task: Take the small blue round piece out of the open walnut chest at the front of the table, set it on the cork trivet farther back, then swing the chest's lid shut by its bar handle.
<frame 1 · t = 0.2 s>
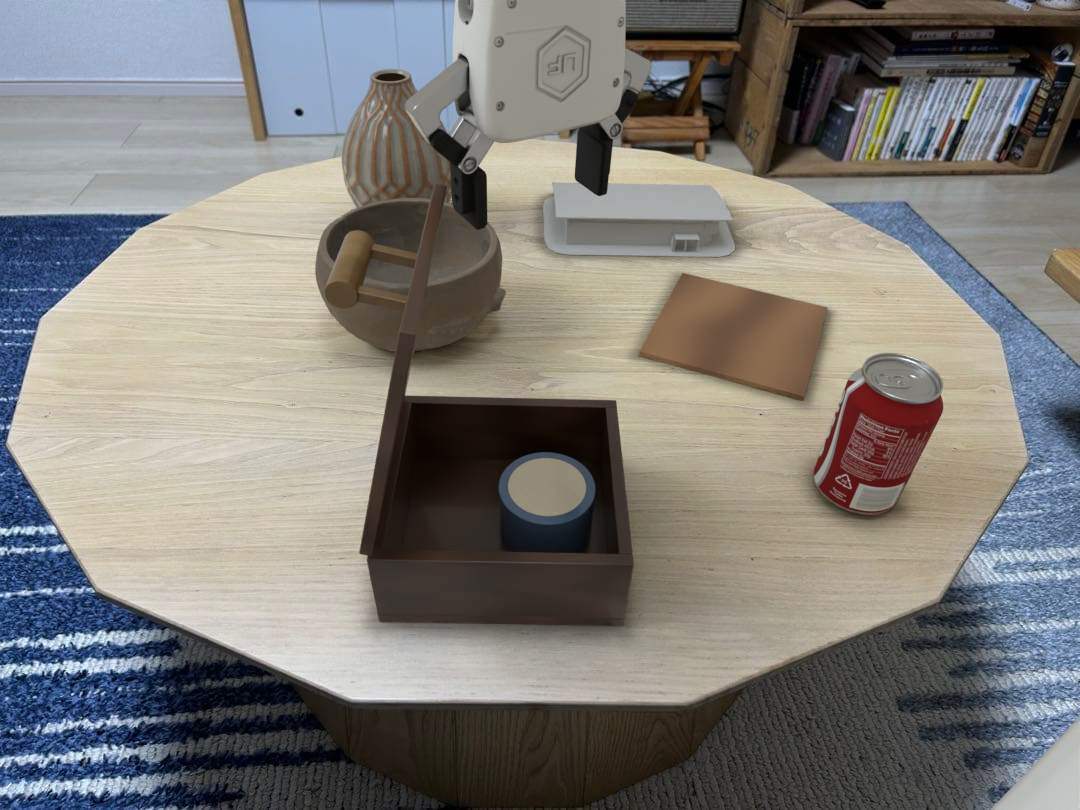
hand: (533, 203, 53), 21 cm above the table, tool pointing down, fingers open, 9 cm apart
bowl: (416, 324, 79), on the table
lid: (367, 361, 47), point 16 cm above the table, hinge at 76.5°, touching gripper
chest: (505, 533, 59), on the table
vase: (405, 223, 95), on the table
trivet: (736, 332, 79), on the table
grey flat boxy piece: (635, 225, 96), on the table
soda can: (852, 490, 63), on the table
blue round piece: (545, 526, 58), point 1 cm above the table, touching chest
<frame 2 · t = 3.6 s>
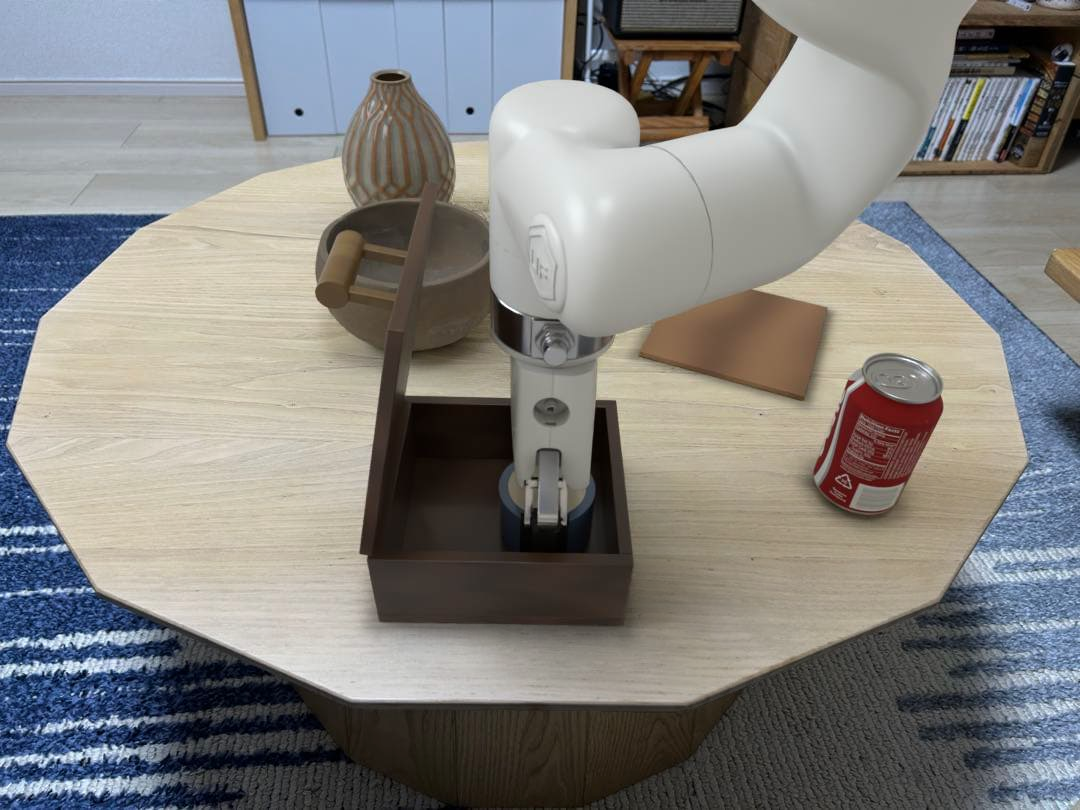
hand: (542, 498, 57), 4 cm above the table, tool pointing down, fingers open, 9 cm apart
lid: (363, 361, 47), point 16 cm above the table, hinge at 78.3°
everything else where it was.
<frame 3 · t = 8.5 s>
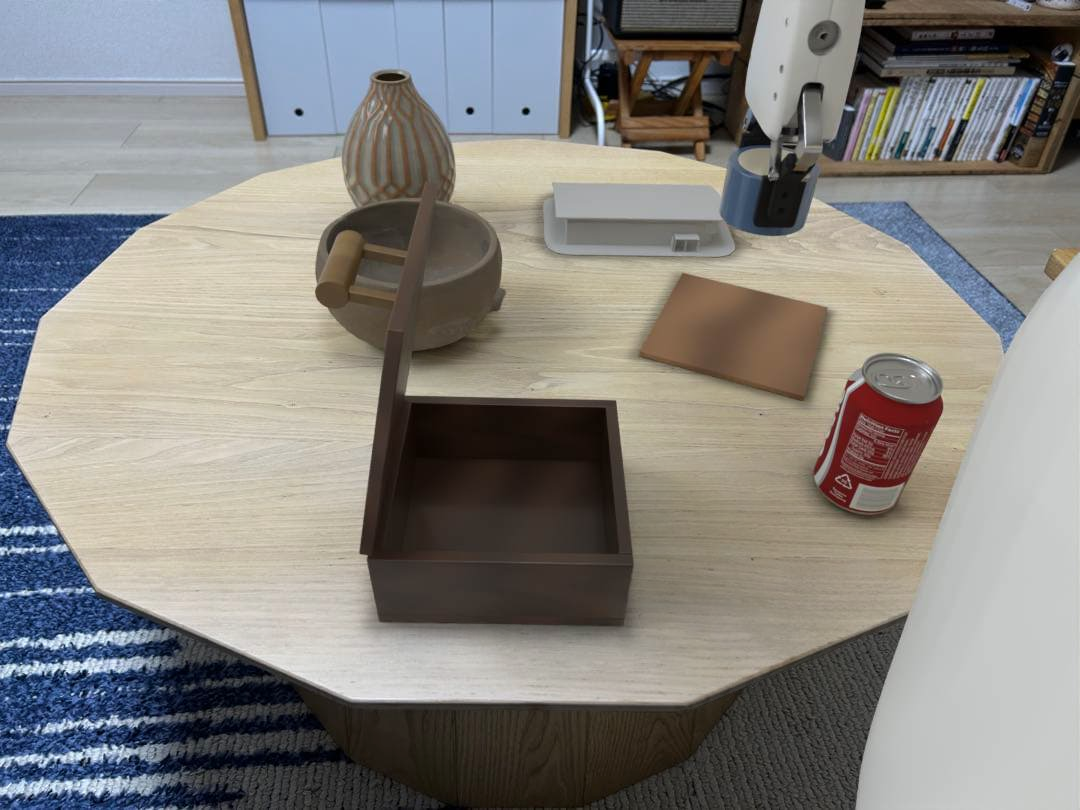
hand: (762, 200, 62), 18 cm above the table, tool pointing down, fingers closed on blue round piece, 7 cm apart
blue round piece: (761, 215, 63), point 17 cm above the table, touching gripper
everything else where it was.
when the fingers open (2 cm above the table, at t = 12.7 s): blue round piece stays where it is, resting on trivet.
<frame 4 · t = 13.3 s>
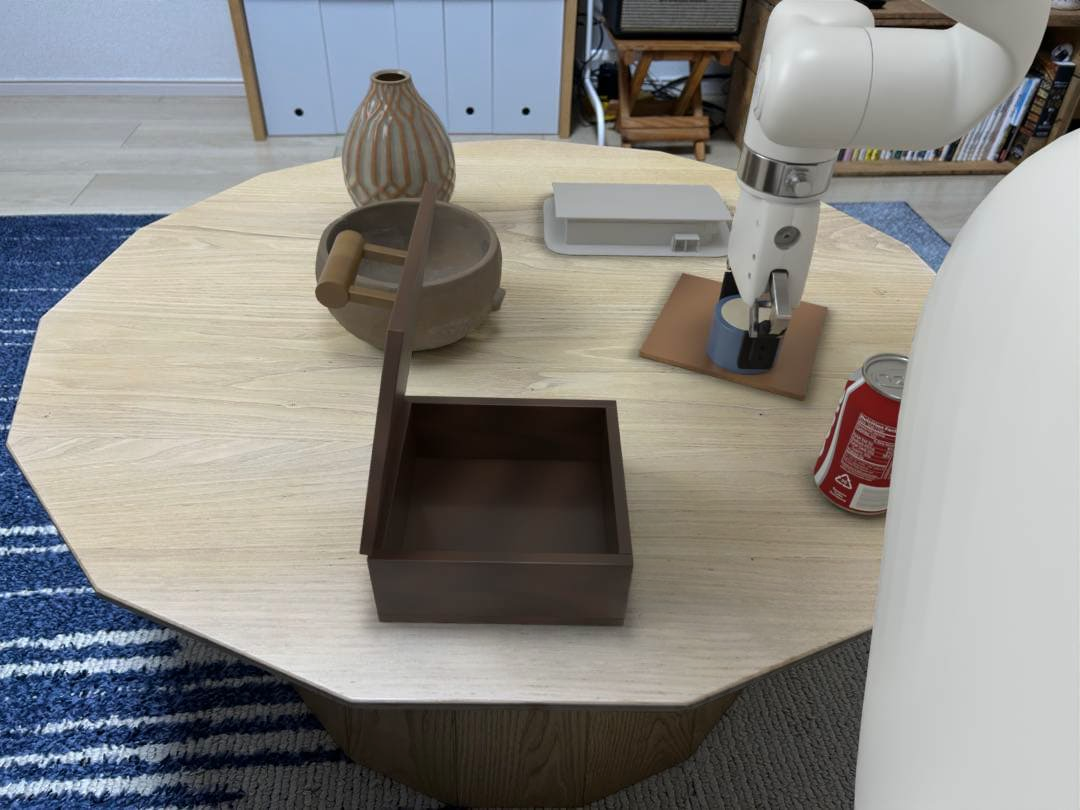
hand: (743, 335, 74), 3 cm above the table, tool pointing down, fingers open, 9 cm apart
blue round piece: (741, 352, 75), point 1 cm above the table, touching trivet
everything else where it was.
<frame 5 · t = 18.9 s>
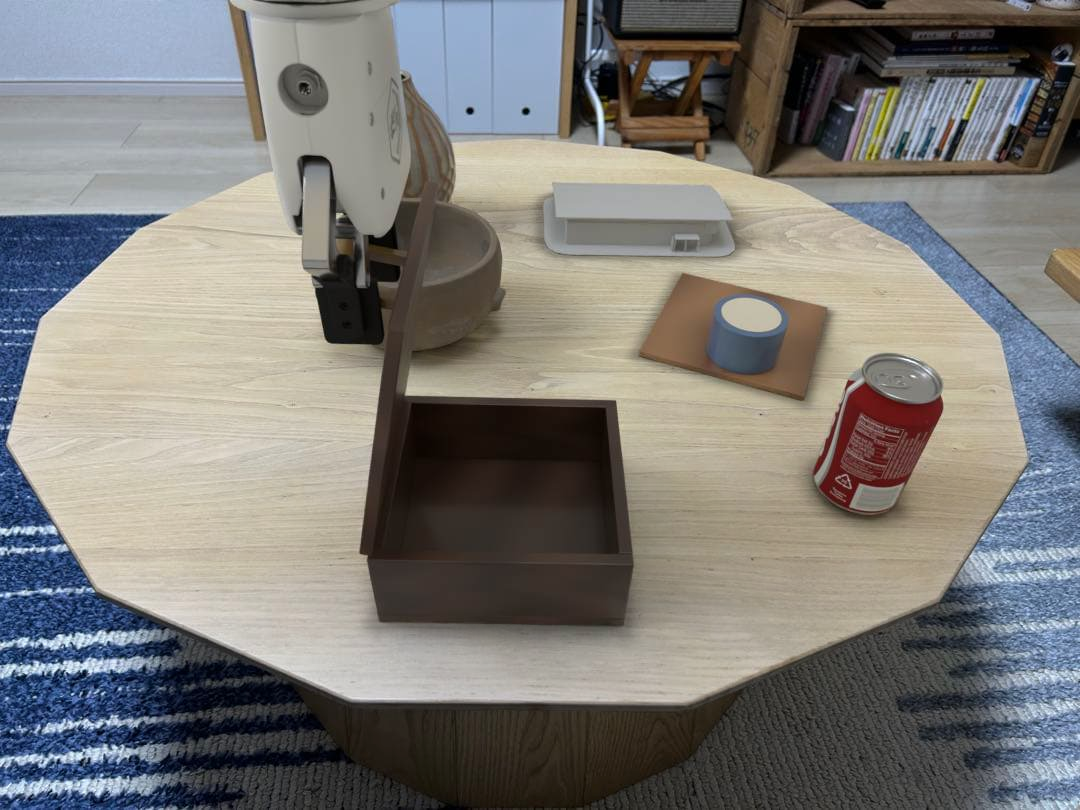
hand: (365, 306, 45), 21 cm above the table, tool pointing down, fingers closed on lid, 5 cm apart
lid: (363, 361, 47), point 16 cm above the table, hinge at 78.3°, touching gripper
everything else where it was.
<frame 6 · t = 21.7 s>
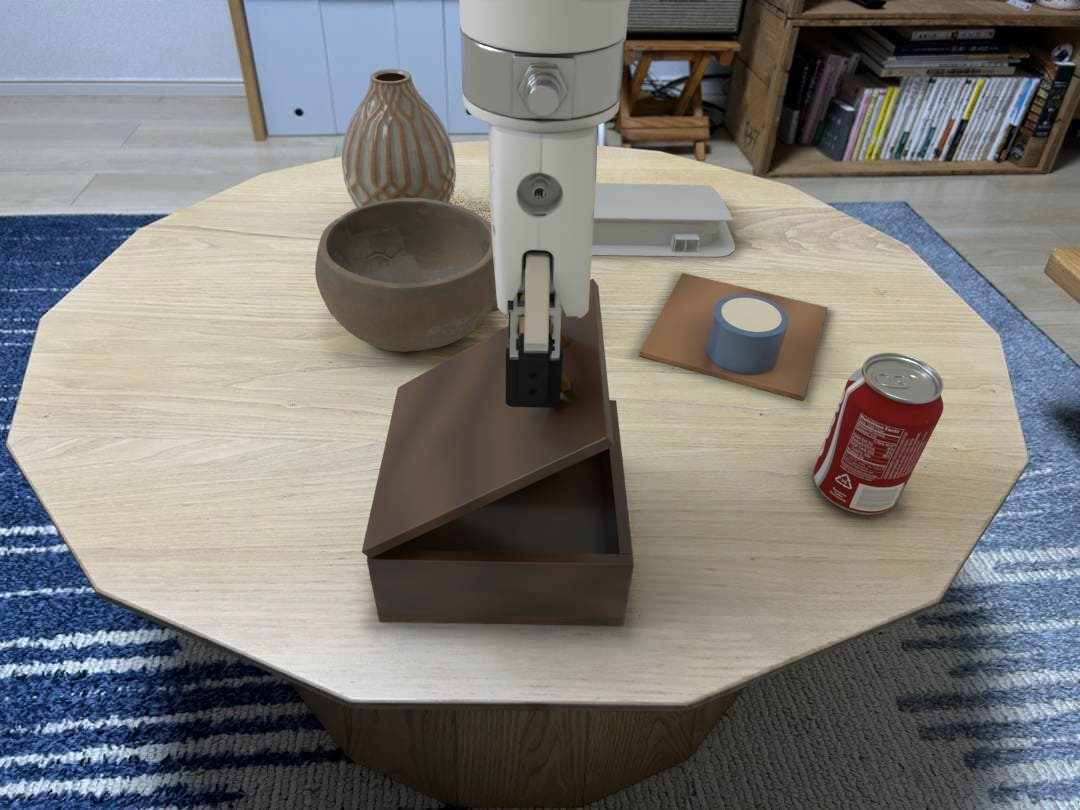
hand: (532, 367, 48), 16 cm above the table, tool pointing down, fingers closed on lid, 5 cm apart
lid: (465, 390, 49), point 14 cm above the table, hinge at 35.5°, touching gripper
everything else where it was.
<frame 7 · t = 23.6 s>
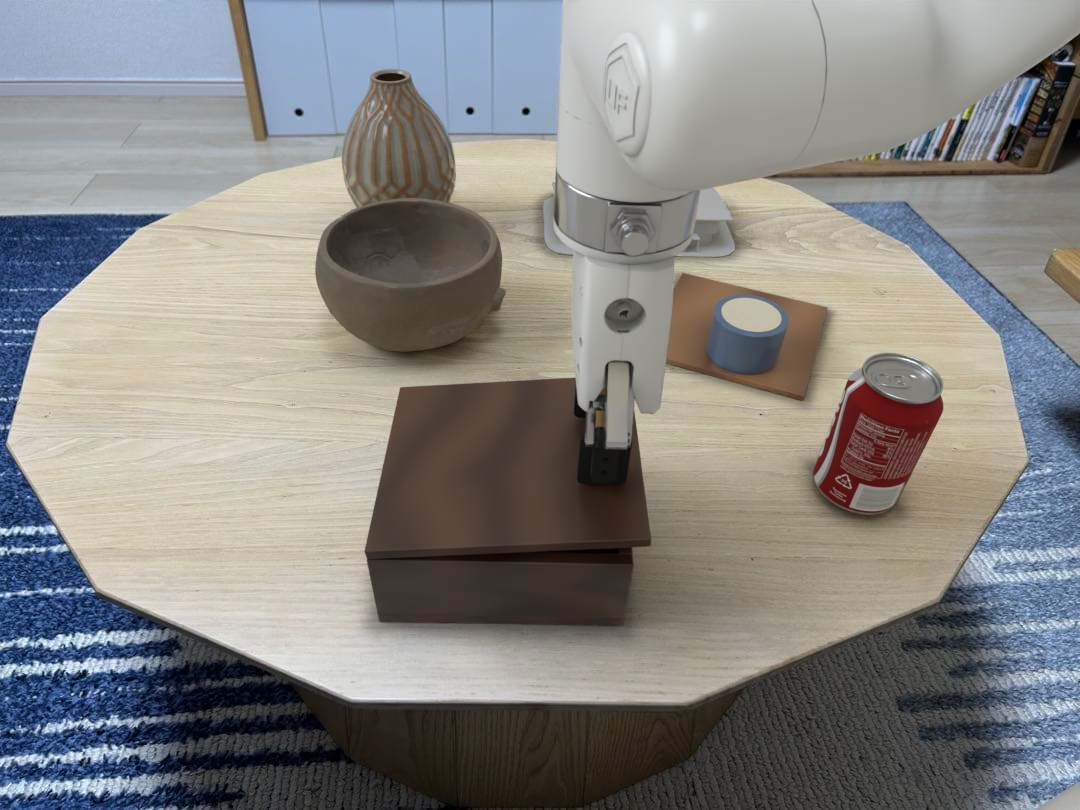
hand: (598, 444, 52), 10 cm above the table, tool pointing down, fingers closed on lid, 5 cm apart
lid: (507, 434, 52), point 10 cm above the table, hinge at 5.8°, touching gripper
everything else where it was.
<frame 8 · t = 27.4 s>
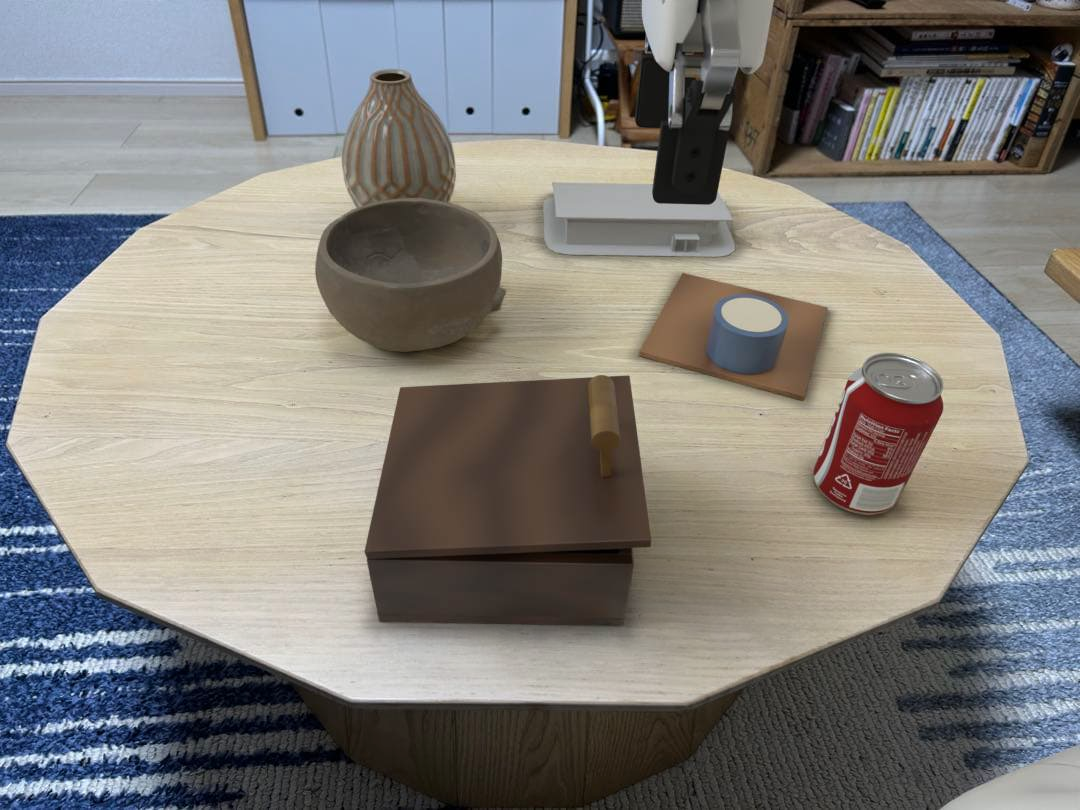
hand: (671, 160, 43), 28 cm above the table, tool pointing down, fingers open, 9 cm apart
lid: (507, 435, 52), point 10 cm above the table, hinge at 5.5°
everything else where it was.
at the end: blue round piece inside the target area on the trivet (3.4 cm from its centre), point 0.6 cm above the trivet's base; blue round piece tilted 0°; lid at +6° (first picture: +76°) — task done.
